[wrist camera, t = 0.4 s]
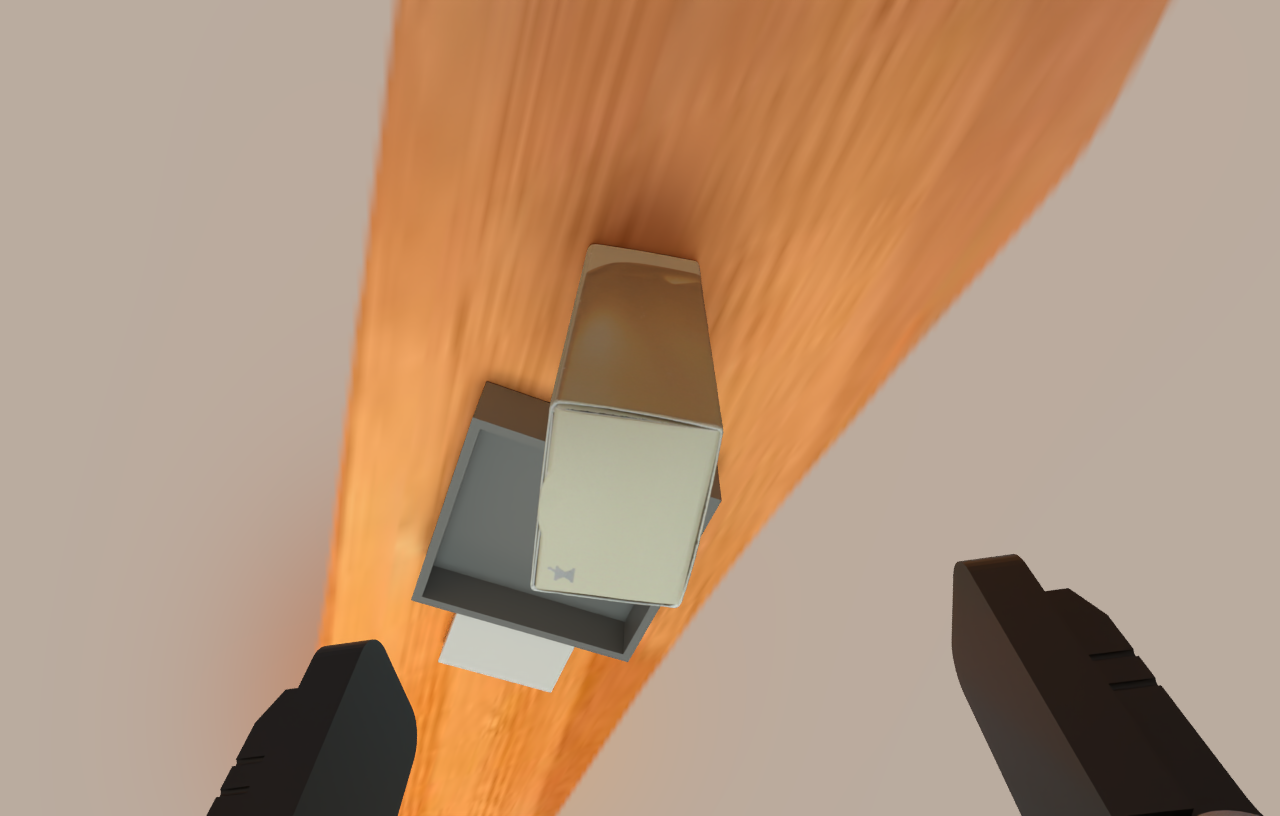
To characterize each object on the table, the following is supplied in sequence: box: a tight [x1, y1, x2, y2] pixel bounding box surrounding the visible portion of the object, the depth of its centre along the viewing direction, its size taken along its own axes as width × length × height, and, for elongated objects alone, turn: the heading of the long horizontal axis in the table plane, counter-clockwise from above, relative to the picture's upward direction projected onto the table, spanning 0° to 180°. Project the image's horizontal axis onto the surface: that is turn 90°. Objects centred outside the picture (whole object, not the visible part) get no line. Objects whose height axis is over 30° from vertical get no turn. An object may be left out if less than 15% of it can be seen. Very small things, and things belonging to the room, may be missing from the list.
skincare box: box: [530, 244, 723, 608], centre depth 25 cm, size 6×4×12 cm
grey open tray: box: [411, 382, 722, 693], centre depth 35 cm, size 16×10×3 cm, turn 158°
